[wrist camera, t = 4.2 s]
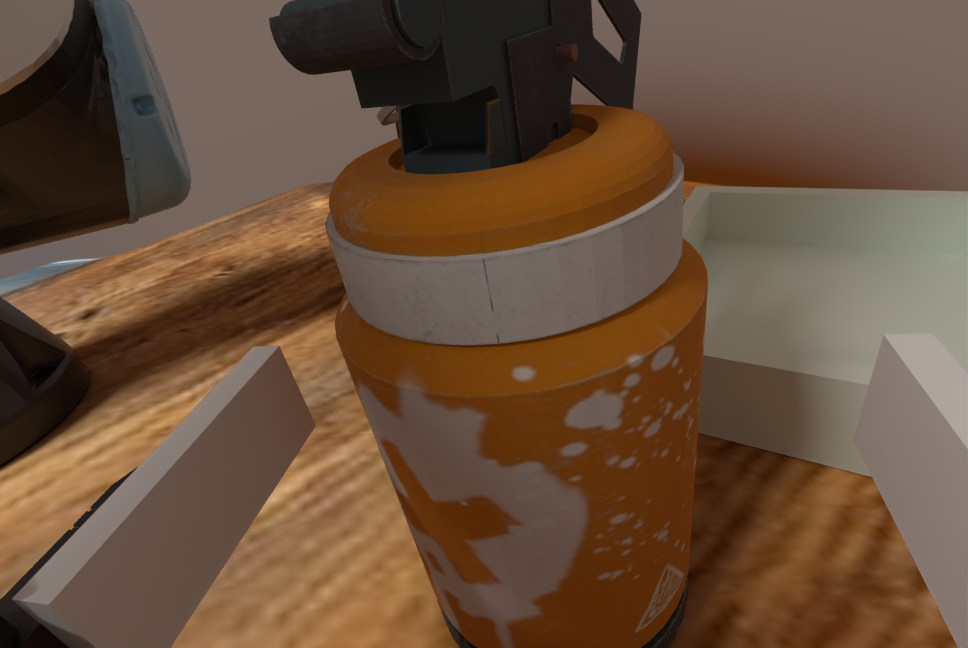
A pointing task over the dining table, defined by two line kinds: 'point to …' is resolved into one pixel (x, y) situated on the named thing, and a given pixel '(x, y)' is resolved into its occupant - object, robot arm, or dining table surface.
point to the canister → (519, 312)
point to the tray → (818, 305)
